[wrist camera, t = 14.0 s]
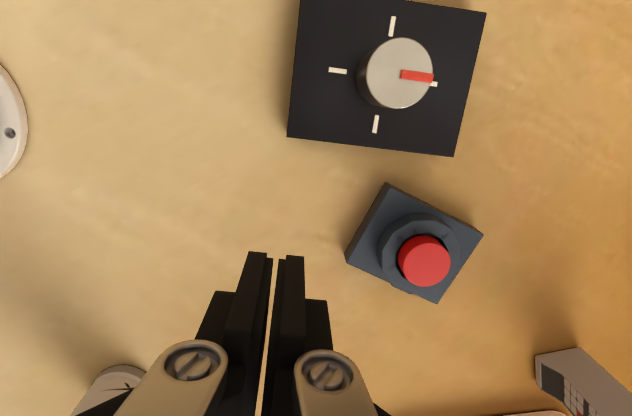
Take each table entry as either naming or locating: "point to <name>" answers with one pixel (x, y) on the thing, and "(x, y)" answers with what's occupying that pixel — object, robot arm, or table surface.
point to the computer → (540, 414)
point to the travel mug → (109, 386)
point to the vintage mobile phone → (581, 384)
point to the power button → (424, 261)
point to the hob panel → (349, 48)
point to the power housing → (398, 227)
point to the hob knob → (395, 73)
